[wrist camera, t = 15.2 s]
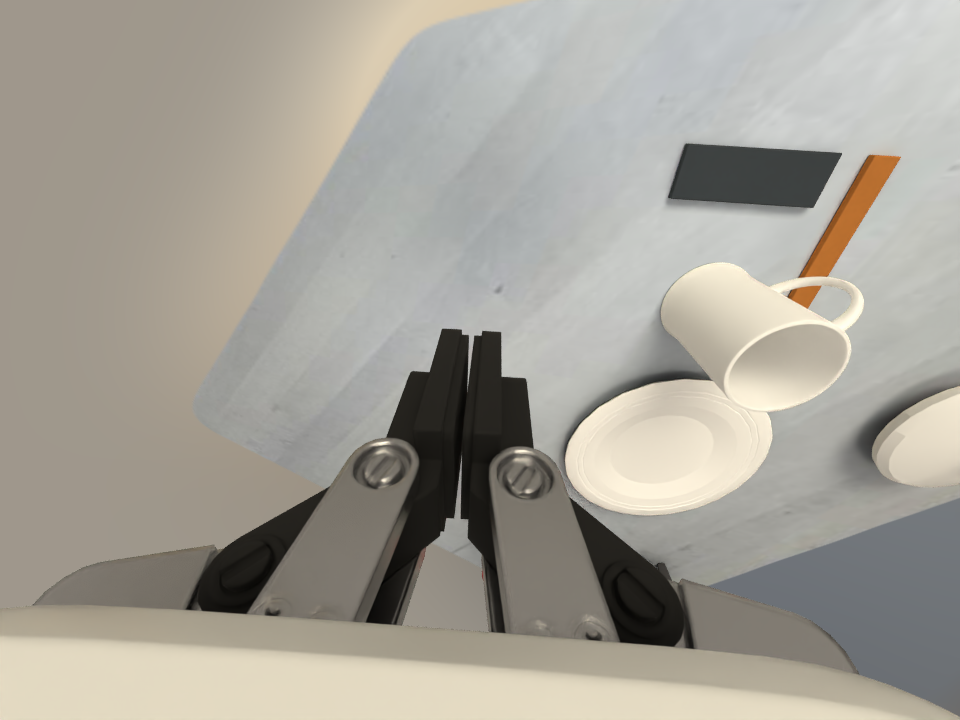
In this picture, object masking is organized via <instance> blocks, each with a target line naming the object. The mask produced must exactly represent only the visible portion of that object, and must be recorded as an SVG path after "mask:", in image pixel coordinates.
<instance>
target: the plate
mask: <svg viewBox="0 0 960 720" xmlns="http://www.w3.org/2000/svg"><path fill="white" fill-rule="evenodd" d="M772 438H773V436H772V428H771V421H770V417H769V416H768V414H767V413H766V412H754V411H749V410H745V409H742V408H740V407H738V406H736V405H735V404H733V403H732V402H731V401H730V400H729V399H728V398H727V397H726V395H725V394H724V393H723V392H722V391H721V390H720V388H719V387H718V386H717V385H716V384H715V383H714V381H713V380H703V379H687V378H681V379H674V380H667V381H660V382H653V383H649V384H646V385H643V386H640V387H637V388H634V389H631V390H629V391H626V392H623V393H621V394H619V395H617V396H616V397H614V398H612V399H610V400H609V401H607V402H605V403H603V404H602V405H600V406H598V407H597V408H596V409H595V410H594V411H593V412H592V413H591V414H589V415H588V416H587V417H586V418H585V419H584V420H583V421H582V422H581V423H580V424H579V426H578V427H577V429H576V430H575V432H574V433H573V435H572V437H571V438H570V440H569V442H568V446H567V450H566V454H565V465H566V472H567V476H568V478H569V479H570V481H571V483H572V485H573V486H574V488H575V489H576V490H577V491H578V492H579V493H580V494H581V495H583V496H584V497H585V498H586V499H587V500H588V501H590V502H592V503H595V504H597V505H599V506H601V507H603V508H605V509H608V510H612V511H616V512H620V513H624V514H634V515H647V516H649V515H662V514H673V513H677V512H682V511H686V510H691V509H695V508H698V507H700V506H703V505H705V504H708V503H711V502H713V501H716V500H718V499H720V498H721V497H723V496H725V495H727V494H728V493H730V492H732V491H733V490H735V489H737V488H738V487H739V486H741V485H742V484H743V483H744V482H745V481H746V480H747V479H749V478H750V477H751V476H752V475H753V474H754V473H755V472H756V471H757V469H758V468H759V466H760V465H761V464H762V462H763V461H764V459H765V458H766V457H767V455H768V451H769V448H770V444H771V441H772Z"/></svg>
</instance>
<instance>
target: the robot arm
mask: <svg viewBox="0 0 960 720" xmlns="http://www.w3.org/2000/svg"><path fill="white" fill-rule="evenodd" d="M468 348H469V335H462V330H458V329H442V331H441V335H440V338H439V342H438V345H437V348H436V352H435V355H434V359H433V362H432V366H431V369H430V372H417V371H412V372H411V373H410V375H409V377H408V380H407V383H406V385H405V388H404V391H403V394H402V396H401V399H400V402H399V404H398V407H397V410H396V413H395V415H394V418H393V421H392V423H391V426H390V429H389V431H388V434H387V437H386V438H381V439H375V440H373V441H370V442H368V443H365V444H364V445H362V446H361V447H359V448H358V449H357V450H355V452H354V453H353V454H352V455H351V456H350V457H349V459H348V460H347V462H346V463H345V465H344V466H343V468H342V469H341V471H340V472H339V474H338V475H337V477H336V478H335V480H334V481H333V483H332V484H331V486H330V487H328V488H326V489H325V490H323V491H321V492H319V493H318V494H316V495H314V496H312V497H310V498H309V499H307V500H305V501H304V502H302V503H300V504H298V505H296V506H295V507H293V508H291V509H289V510H287V511H286V512H284V513H282V514H281V515H279V516H277V517H275V518H273V519H272V520H270V521H268V522H266V523H264V524H263V525H261V526H259V527H258V528H256V529H254V530H252V531H250V532H249V533H247V534H245V535H243V536H241V537H240V538H238V539H237V540H235V541H234V542H232V543H231V544H230V545H228V546H227V547H225V548H224V549H218V550H217V549H216V547H215V546H214V545H209V546H203V547H197V548H190V549H184V550H176V551H170V552H163V553H157V554H150V555H144V556H138V557H131V558H125V559H118V560H112V561H105V562H100V563H96V564H93V565H90V566H86V567H83V568H81V569H79V570H77V571H75V572H74V573H72V574H70V575H68V576H66V577H64V578H63V579H61V580H60V581H59V582H57V583H56V584H55V585H53V586H52V587H51V588H49V589H48V590H47V591H45V592H44V593H43V595H42V596H41V597H40V598H39V599H38V600H37V601H36V602H35V603H34V604H33V605H32V606H25V607H14V608H3V609H0V720H960V717H959V716H957V715H955V714H953V713H951V712H949V711H947V710H945V709H943V708H941V707H939V706H937V705H935V704H933V703H931V702H929V701H927V700H924V699H922V698H919V697H917V696H914V695H912V694H910V693H907V692H905V691H902V690H900V689H898V688H895V687H893V686H890V685H888V684H885V683H882V682H879V681H875V680H872V679H870V678H866V677H863V676H860V675H859V673H858V671H857V670H856V667H855V666H854V664H853V663H852V661H851V659H850V658H849V656H848V655H847V653H846V652H845V650H844V649H843V648H842V647H841V646H840V645H839V644H838V643H837V642H836V641H835V640H834V639H833V638H832V637H831V635H829V634H828V633H827V632H826V631H824V630H823V629H822V628H820V627H819V626H818V625H816V624H815V623H814V622H812V621H811V620H808V619H806V618H804V617H802V616H800V615H797V614H795V613H793V612H789V611H786V610H783V609H779V608H776V607H773V606H770V605H767V604H763V603H760V602H757V601H754V600H750V599H747V598H744V597H740V596H737V595H734V594H730V593H727V592H724V591H721V590H717V589H714V588H711V587H708V586H705V585H701V584H698V583H695V582H691V581H688V580H685V579H681V581H680V582H679V583H677V582H674V581H670V580H668V579H667V578H666V577H665V576H664V575H663V574H662V573H661V572H660V571H659V570H658V569H657V568H655V567H654V566H653V565H652V564H651V563H649V562H648V561H647V560H646V559H644V558H643V557H642V556H641V555H640V554H638V553H637V552H636V551H635V550H633V549H632V548H631V547H630V546H628V545H627V544H626V543H625V542H624V541H622V540H621V539H620V538H619V537H617V536H616V535H615V534H614V533H613V532H611V531H610V530H609V529H608V528H606V527H605V526H604V525H603V524H602V523H600V522H599V521H598V520H597V519H595V518H594V517H593V516H592V515H591V514H589V513H588V512H587V511H586V510H584V509H583V508H582V507H581V506H579V505H578V504H577V503H576V502H575V501H573V500H572V499H571V498H570V497H569V496H568V493H567V490H566V487H565V484H564V481H563V479H562V476H561V473H560V471H559V469H558V467H557V465H556V463H555V462H554V461H553V460H552V459H551V458H550V457H549V456H547V455H546V454H544V453H542V452H541V451H539V450H536V449H534V447H533V438H532V428H531V419H530V409H529V400H528V390H527V382H526V379H525V378H511V377H501V332H491V331H482V336H474V344H473V352H472V360H471V368H470V376H469V384H468V392H467V383H468ZM461 456H462V481H461V519H469V520H468V539H469V540H470V541H471V542H472V543H473V545H474V546H475V547H476V548H477V549H478V550H479V551H480V553H481V554H482V559H481V561H482V571H483V581H484V591H485V600H486V610H487V621H488V631H489V632H480V631H465V630H454V629H440V628H427V627H413V626H402V624H403V621H404V618H405V615H406V612H407V609H408V606H409V603H410V599H411V596H412V593H413V590H414V587H415V584H416V581H417V578H418V575H419V572H420V568H421V566H422V563H423V560H424V557H425V551H426V547H427V546H428V545H429V544H430V543H432V542H433V541H434V540H435V539H437V538H438V537H439V536H440V531H443V532H444V529H445V521H446V518H454V515H455V507H456V498H457V490H458V481H459V473H460V464H461Z"/></svg>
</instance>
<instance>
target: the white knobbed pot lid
mask: <svg viewBox="0 0 960 720" xmlns="http://www.w3.org/2000/svg"><path fill="white" fill-rule="evenodd" d="M872 459H873V460H874V462H875V464H876V466H877V467H878V469H879V471H880V472H881V474H882V475H883V476H885V477H887V478H888V479H890V480H891V481H894V482H898V483H903V484H907V485H911V486H916V487H943V486H953V485H958V484H960V386H958V387H955V388H951V389H948V390H945V391H943V392H940V393H938V394H936V395H933V396H931V397H928V398H926V399H924V400H922V401H920V402H918V403H917V404H915V405H913V406H912V407H910V408H908V409H906V410H905V411H903V412H902V413H901V414H899V415H898V416H897V417H896V418H894V419H893V420H892V421H891V422H889V423H888V424H887V425H886V426H885V428H884V429H883V430H882V431H881V432H880V433H879V435H878V436H877V438H876V440H875V442H874V444H873V447H872Z"/></svg>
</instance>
